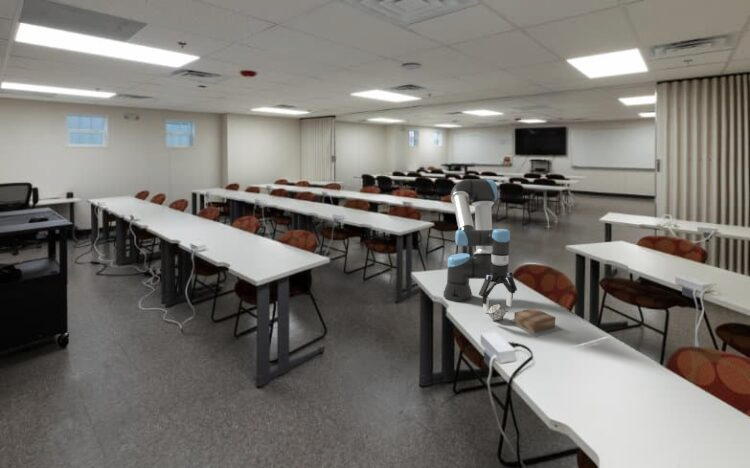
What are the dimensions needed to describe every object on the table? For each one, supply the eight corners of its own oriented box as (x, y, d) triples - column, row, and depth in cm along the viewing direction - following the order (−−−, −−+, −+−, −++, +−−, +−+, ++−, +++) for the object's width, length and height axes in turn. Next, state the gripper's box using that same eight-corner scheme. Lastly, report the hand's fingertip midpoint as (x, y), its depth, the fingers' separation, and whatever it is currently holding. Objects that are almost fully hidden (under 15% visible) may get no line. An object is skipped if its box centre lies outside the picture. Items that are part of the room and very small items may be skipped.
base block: (514, 322, 179) (514, 312, 178) (533, 317, 184) (534, 307, 183) (534, 333, 169) (535, 322, 168) (554, 327, 173) (555, 317, 172)
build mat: (505, 321, 181) (505, 320, 181) (531, 315, 188) (531, 314, 188) (536, 337, 165) (536, 336, 165) (563, 330, 172) (563, 329, 172)
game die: (499, 329, 182) (509, 318, 175) (482, 321, 183) (491, 310, 176) (502, 314, 188) (511, 302, 181) (485, 306, 189) (493, 295, 182)
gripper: (483, 268, 169) (480, 315, 173) (526, 262, 179) (523, 306, 183) (472, 264, 176) (470, 309, 179) (514, 258, 186) (512, 301, 189)
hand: (497, 308), depth 181 cm, fingers open, 13 cm apart
